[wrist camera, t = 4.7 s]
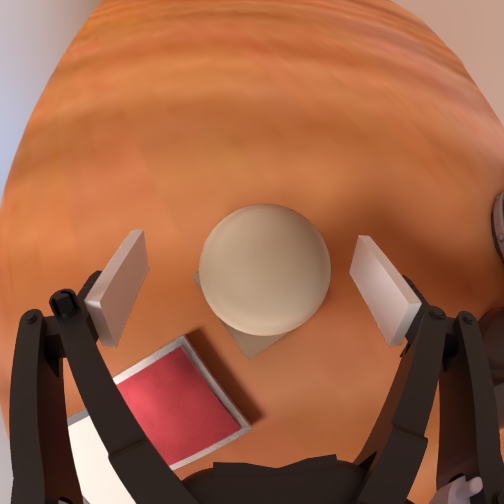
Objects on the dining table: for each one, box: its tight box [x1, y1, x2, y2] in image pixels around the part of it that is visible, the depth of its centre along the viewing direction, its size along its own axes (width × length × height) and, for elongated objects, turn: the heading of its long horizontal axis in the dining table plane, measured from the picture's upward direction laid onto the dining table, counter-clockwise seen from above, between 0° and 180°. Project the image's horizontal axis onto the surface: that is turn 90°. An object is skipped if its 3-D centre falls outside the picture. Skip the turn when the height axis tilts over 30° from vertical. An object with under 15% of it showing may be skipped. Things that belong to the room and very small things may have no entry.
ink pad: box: [113, 334, 252, 470], centre depth 18 cm, size 9×9×2 cm
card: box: [67, 408, 136, 504], centre depth 16 cm, size 11×11×1 cm
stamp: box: [192, 204, 331, 360], centre depth 15 cm, size 7×5×15 cm
